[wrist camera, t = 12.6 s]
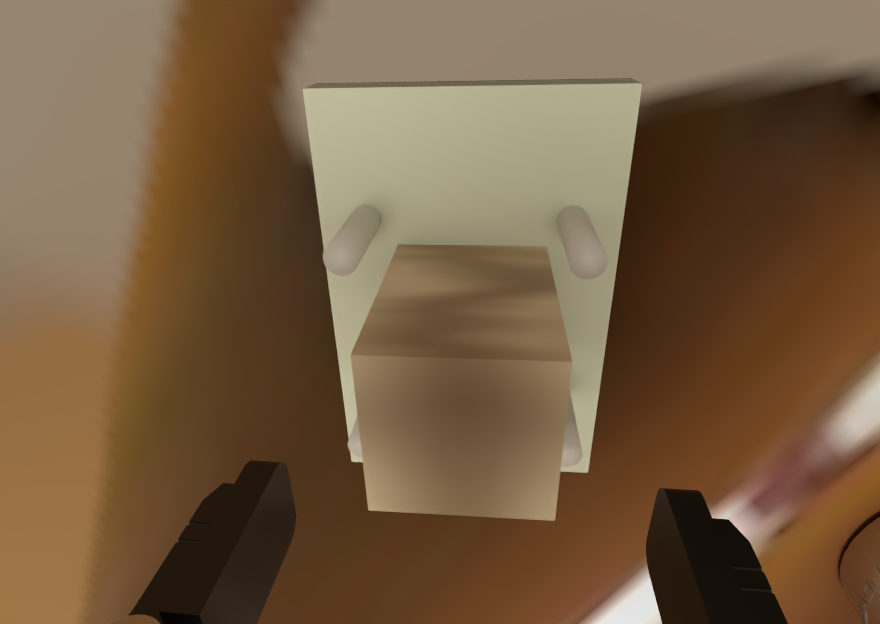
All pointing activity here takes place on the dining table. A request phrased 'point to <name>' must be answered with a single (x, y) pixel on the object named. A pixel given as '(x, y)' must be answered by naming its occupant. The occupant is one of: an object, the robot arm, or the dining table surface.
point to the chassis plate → (477, 199)
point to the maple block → (464, 383)
